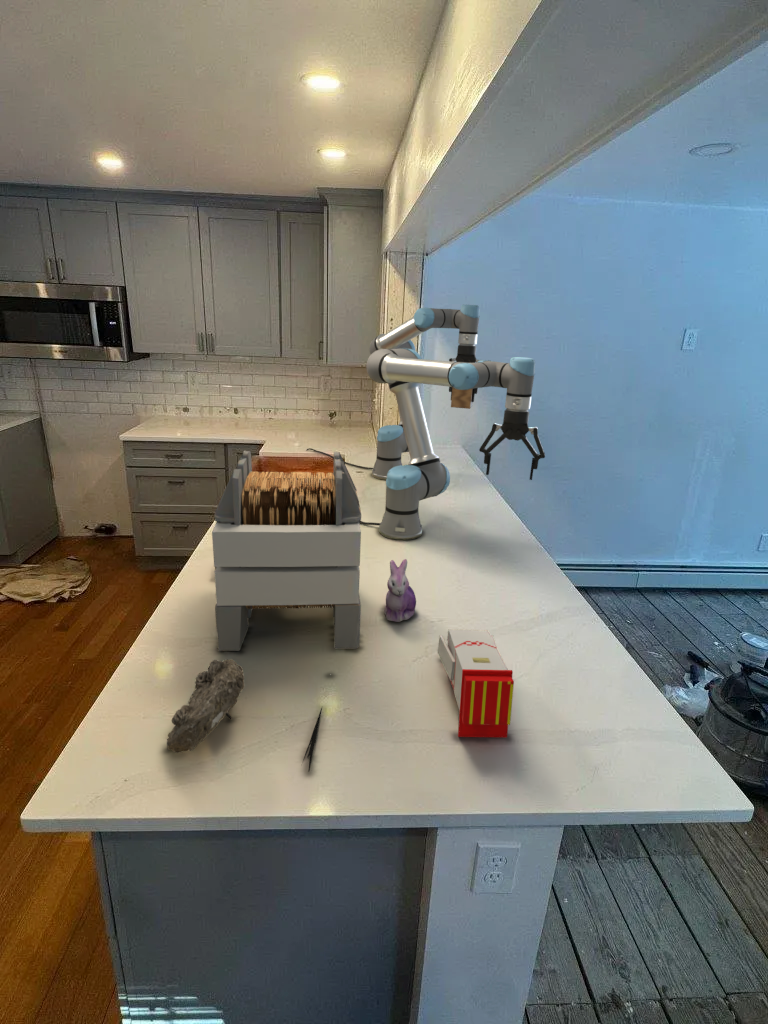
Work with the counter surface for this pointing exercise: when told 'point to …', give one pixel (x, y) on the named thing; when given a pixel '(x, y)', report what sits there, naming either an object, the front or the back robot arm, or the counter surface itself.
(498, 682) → the toy
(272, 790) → the counter surface
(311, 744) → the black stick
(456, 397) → the block
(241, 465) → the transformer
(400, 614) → the figurine
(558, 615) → the counter surface
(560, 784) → the counter surface
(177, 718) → the fossil
